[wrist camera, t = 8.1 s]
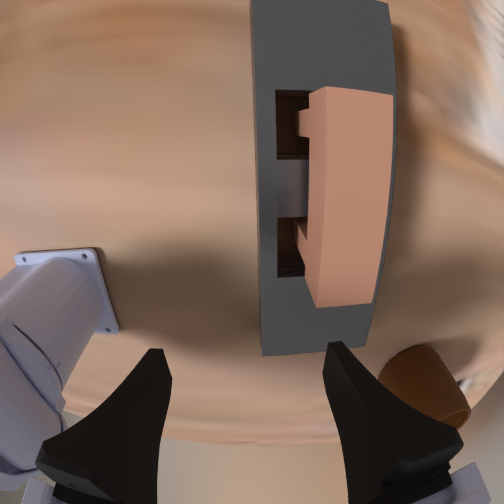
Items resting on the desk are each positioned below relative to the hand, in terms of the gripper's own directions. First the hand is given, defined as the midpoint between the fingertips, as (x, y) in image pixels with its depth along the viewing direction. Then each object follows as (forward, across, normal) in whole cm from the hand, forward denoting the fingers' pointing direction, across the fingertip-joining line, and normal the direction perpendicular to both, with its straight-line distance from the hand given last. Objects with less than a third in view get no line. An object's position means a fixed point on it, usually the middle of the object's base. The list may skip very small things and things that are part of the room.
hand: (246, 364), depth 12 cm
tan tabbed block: (+9, -5, -6) cm, 12 cm away
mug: (+10, -17, +16) cm, 25 cm away
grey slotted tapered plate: (+9, -5, -6) cm, 12 cm away
